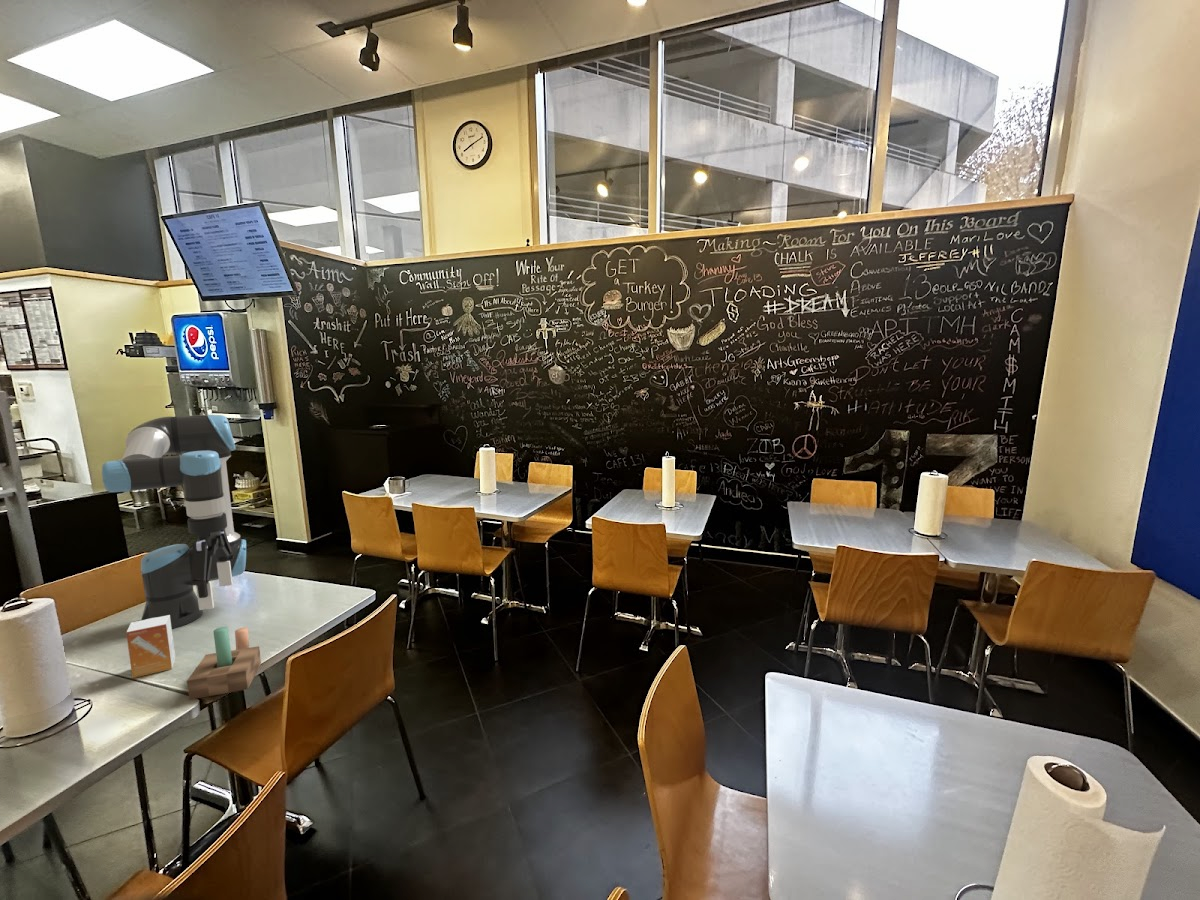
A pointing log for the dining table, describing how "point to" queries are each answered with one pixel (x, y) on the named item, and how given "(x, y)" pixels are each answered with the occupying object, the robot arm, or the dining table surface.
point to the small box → (150, 646)
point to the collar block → (224, 674)
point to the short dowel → (242, 638)
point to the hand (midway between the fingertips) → (216, 596)
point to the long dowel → (222, 646)
